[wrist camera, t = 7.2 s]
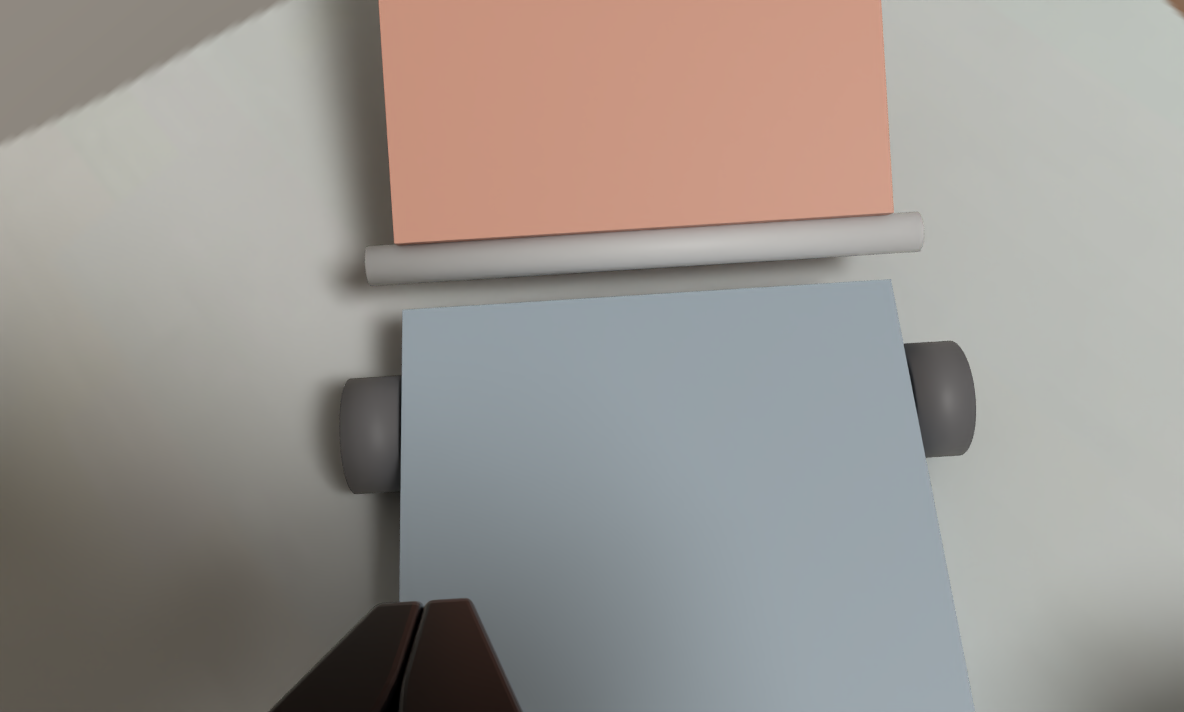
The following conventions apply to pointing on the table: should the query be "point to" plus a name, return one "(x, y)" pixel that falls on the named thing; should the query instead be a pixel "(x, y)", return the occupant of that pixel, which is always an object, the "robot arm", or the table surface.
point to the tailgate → (633, 136)
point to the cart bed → (680, 495)
